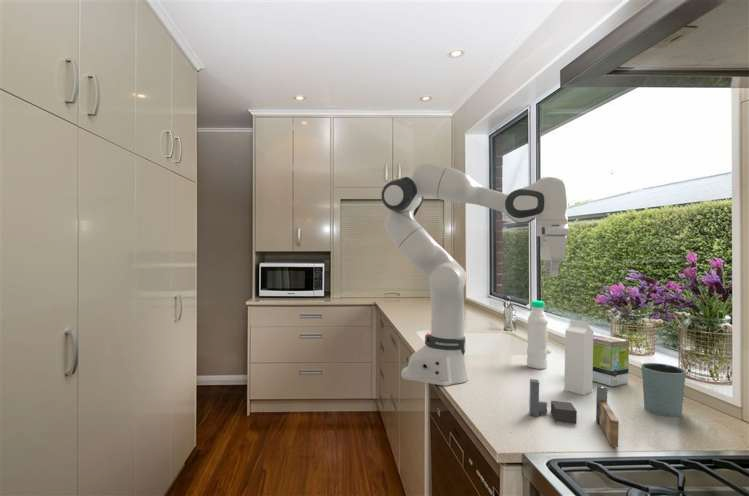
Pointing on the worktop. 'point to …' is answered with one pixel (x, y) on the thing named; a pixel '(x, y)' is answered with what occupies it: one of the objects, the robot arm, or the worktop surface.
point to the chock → (563, 412)
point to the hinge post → (600, 396)
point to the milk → (578, 357)
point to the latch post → (536, 400)
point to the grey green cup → (663, 388)
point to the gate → (609, 423)
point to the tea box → (610, 360)
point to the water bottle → (537, 336)
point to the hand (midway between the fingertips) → (551, 275)
